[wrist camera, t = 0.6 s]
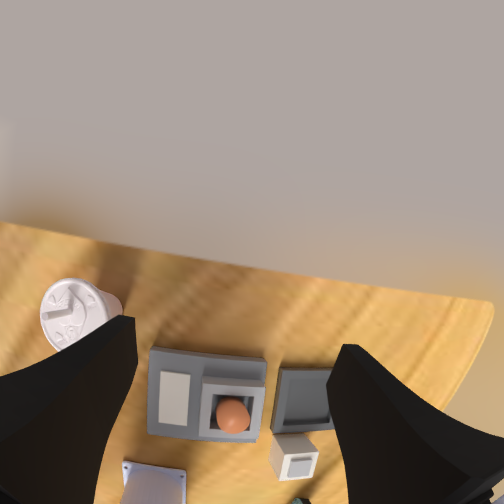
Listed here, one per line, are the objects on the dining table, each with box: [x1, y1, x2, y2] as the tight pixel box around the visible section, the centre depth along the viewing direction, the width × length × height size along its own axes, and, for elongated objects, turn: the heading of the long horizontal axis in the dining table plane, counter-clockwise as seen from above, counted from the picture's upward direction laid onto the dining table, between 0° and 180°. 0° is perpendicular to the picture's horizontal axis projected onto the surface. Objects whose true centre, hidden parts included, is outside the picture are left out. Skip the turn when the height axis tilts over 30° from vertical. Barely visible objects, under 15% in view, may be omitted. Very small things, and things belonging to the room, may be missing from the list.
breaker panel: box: [147, 346, 267, 443], centre depth 26 cm, size 10×12×4 cm
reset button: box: [215, 396, 250, 434], centre depth 24 cm, size 3×3×3 cm
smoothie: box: [40, 278, 123, 351], centre depth 21 cm, size 6×6×14 cm
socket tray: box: [270, 367, 335, 433], centre depth 30 cm, size 8×8×1 cm
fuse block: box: [268, 433, 319, 481], centre depth 27 cm, size 4×4×6 cm
